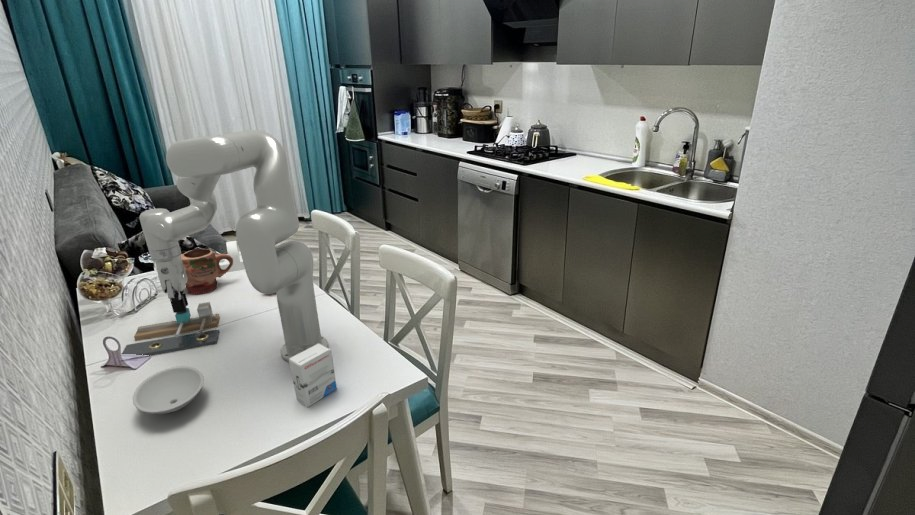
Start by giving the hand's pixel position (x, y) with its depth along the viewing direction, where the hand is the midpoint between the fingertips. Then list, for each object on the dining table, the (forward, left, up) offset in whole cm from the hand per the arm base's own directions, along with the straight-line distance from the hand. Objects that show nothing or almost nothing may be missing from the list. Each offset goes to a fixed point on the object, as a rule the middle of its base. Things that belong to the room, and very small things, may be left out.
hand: (181, 308), depth 141 cm
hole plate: (-10, +2, -7) cm, 12 cm away
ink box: (-47, -36, -7) cm, 60 cm away
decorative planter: (+29, -2, -7) cm, 30 cm away
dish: (-39, -4, -7) cm, 40 cm away
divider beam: (-4, +2, -7) cm, 8 cm away
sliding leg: (-4, 0, -5) cm, 6 cm away
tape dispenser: (+47, -10, -7) cm, 49 cm away
